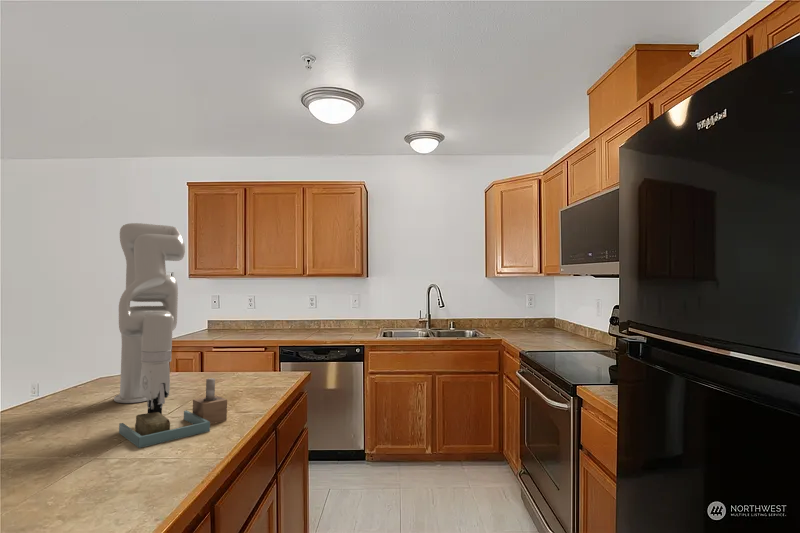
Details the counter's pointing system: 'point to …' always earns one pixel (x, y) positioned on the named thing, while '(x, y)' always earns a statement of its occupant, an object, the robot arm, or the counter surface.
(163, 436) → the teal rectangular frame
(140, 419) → the stone block
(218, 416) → the block with knob
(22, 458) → the counter surface
